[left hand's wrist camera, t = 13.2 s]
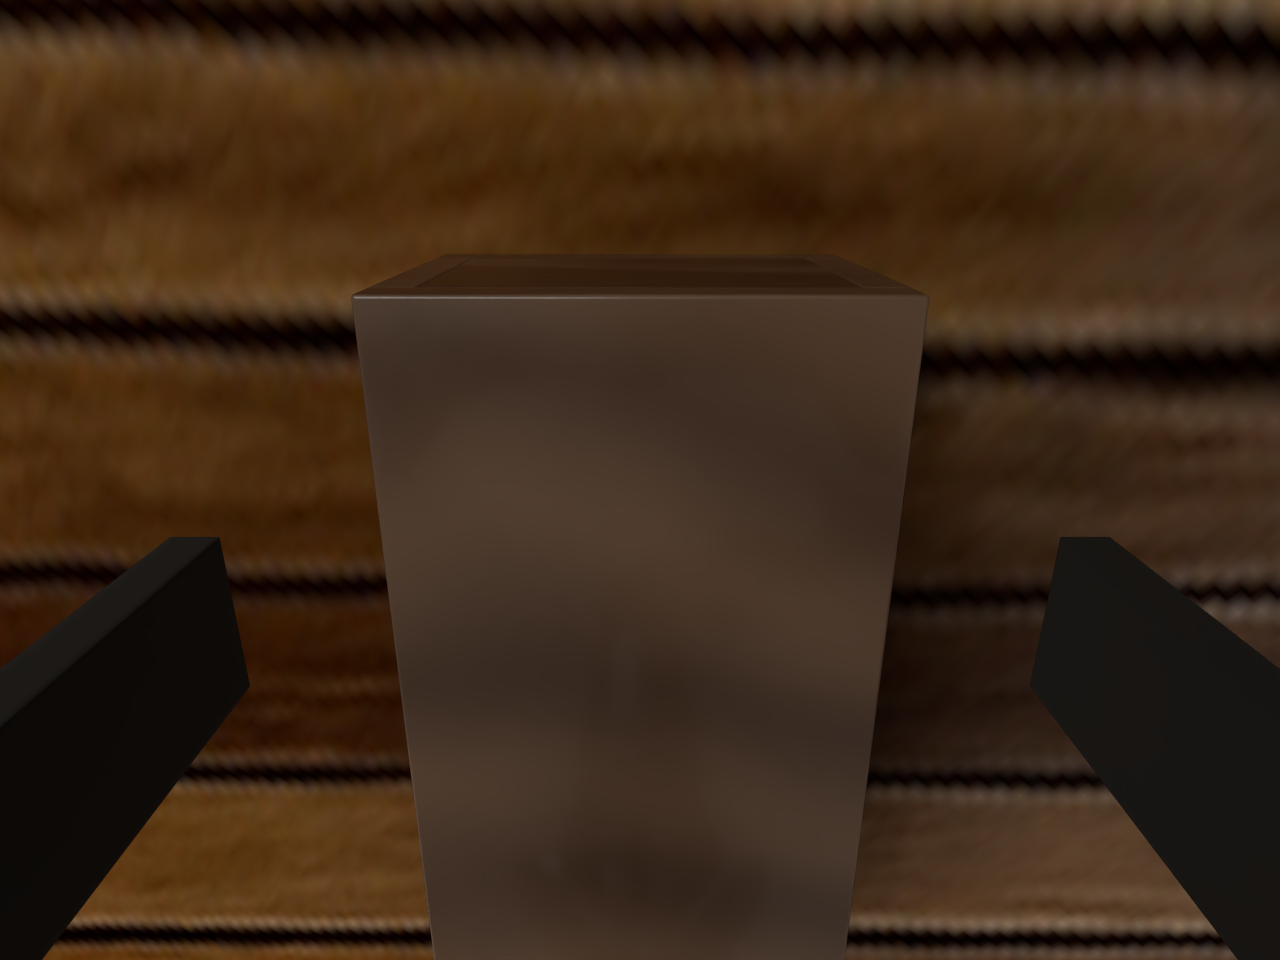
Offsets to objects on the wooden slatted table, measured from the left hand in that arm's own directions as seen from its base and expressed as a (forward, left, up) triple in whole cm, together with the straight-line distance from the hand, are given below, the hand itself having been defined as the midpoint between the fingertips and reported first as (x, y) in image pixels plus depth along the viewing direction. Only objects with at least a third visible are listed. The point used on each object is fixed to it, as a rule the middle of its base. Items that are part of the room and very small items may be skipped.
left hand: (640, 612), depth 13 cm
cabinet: (0, +6, -13) cm, 14 cm away
